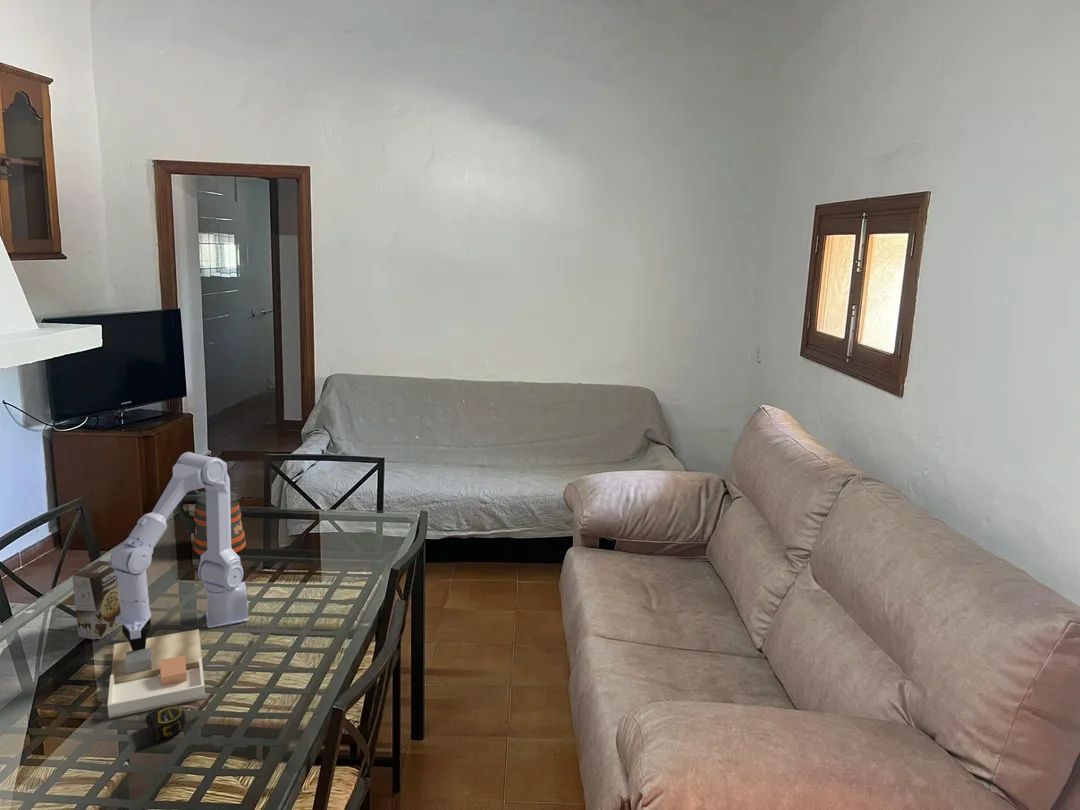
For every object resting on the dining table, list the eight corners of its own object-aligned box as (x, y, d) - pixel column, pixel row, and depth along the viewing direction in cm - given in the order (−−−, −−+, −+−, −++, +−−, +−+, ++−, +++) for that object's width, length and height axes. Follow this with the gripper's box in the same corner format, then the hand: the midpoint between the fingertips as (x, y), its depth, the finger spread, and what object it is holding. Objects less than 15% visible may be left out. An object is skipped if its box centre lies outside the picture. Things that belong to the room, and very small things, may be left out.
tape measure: (145, 727, 160) (144, 711, 159) (182, 716, 164) (181, 700, 163) (151, 746, 154) (149, 729, 153) (189, 734, 158) (188, 718, 157)
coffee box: (101, 641, 190) (94, 578, 186) (77, 637, 191) (70, 575, 187) (128, 622, 199) (121, 562, 195) (105, 619, 200) (98, 559, 196)
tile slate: (152, 657, 180) (151, 647, 180) (151, 669, 176) (150, 658, 175) (127, 661, 178) (126, 651, 178) (126, 673, 174) (125, 663, 173)
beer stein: (171, 559, 234) (166, 494, 229) (186, 539, 248) (181, 477, 243) (239, 557, 236) (235, 493, 232) (250, 537, 250) (247, 476, 246)
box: (202, 669, 180) (201, 657, 179) (205, 698, 169) (204, 685, 169) (111, 687, 172) (110, 674, 172) (108, 718, 162) (107, 705, 161)
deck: (199, 636, 193) (198, 629, 193) (202, 669, 180) (201, 661, 180) (115, 651, 186) (114, 644, 185) (111, 686, 173) (110, 678, 172)
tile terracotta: (185, 663, 178) (185, 655, 177) (187, 680, 174) (186, 672, 173) (161, 668, 176) (160, 659, 175) (161, 685, 172) (160, 677, 171)
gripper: (115, 585, 181) (120, 640, 185) (111, 615, 169) (117, 673, 172) (149, 580, 184) (154, 634, 188) (148, 609, 172) (154, 666, 175)
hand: (139, 652), depth 180 cm, fingers closed
